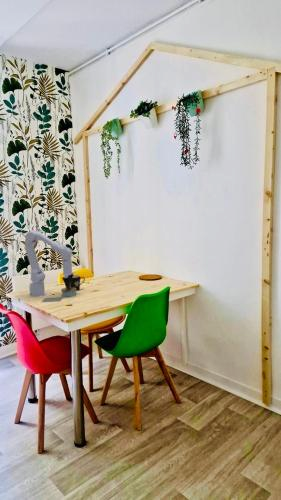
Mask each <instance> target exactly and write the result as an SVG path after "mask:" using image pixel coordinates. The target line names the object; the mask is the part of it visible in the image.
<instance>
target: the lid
mask: <svg viewBox="0 0 281 500" xmlns="http://www.w3.org/2000/svg"><path fill="white" fill-rule="evenodd" d="M60 291H61V293H62V292H73V291H76V288H74V287H71V283H70V286H69V288H66V287H64V288H61V290H60ZM76 292H77V291H76Z"/></svg>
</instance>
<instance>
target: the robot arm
mask: <svg viewBox="0 0 281 500" xmlns="http://www.w3.org/2000/svg"><path fill="white" fill-rule="evenodd" d="M24 235H25V236H24V237H25V239H24V240H25V241H24V249H25V251H26V254H27V258H28V262H29V265H30V268H31V270H30V281H31V282H30V283H29V297H30V298H34V297H37V298H39V297H45V296H46V295H47V292H45V290H46V289H45V279H46V274H45V272H44V270H43V269H42V268H41V267H40V264H39V261H38V256H37V254H36V253H37V252H36V250H35V246H34V245H36V242H37V241H41V242H43V243H45V244H46V245H49V246H50V247H51V249H52V250H53V251H55V252H57V253H58V254H59V255H60V256H61V257H62V272H63V273H62V274H63V277H61V279H62V280H63V282H64V286H65V288H69V286H70V283H71V284H72V278H73V275H75V272H74V271H73V267H72V266H73V265H72V253H73V251H72V249H71V248H70V247H67V246H66V245H65V246H64V245H63V244H62V243H61V242H59V241H54V240H52V239H50V238H49V237H48V236H46V235H45V234H43V232H40V231H39V230H33V231H30V230H29V231H28V232H26V234H24Z"/></svg>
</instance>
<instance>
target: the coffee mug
mask: <svg viewBox="0 0 281 500" xmlns="http://www.w3.org/2000/svg"><path fill="white" fill-rule="evenodd" d="M82 278H83V280H82V282H81V279H82ZM84 282H85V277H84V276H81V275H78V274H77V275H75V274H74V275H73V278H72V284H71V287H74V288H76V292H79V291H80V287H81V285H83V284H84Z"/></svg>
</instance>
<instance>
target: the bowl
mask: <svg viewBox="0 0 281 500" xmlns="http://www.w3.org/2000/svg"><path fill="white" fill-rule="evenodd" d="M76 295H77V291H73V292H62V291H61V297H63V298H69V297H75V296H76Z"/></svg>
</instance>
